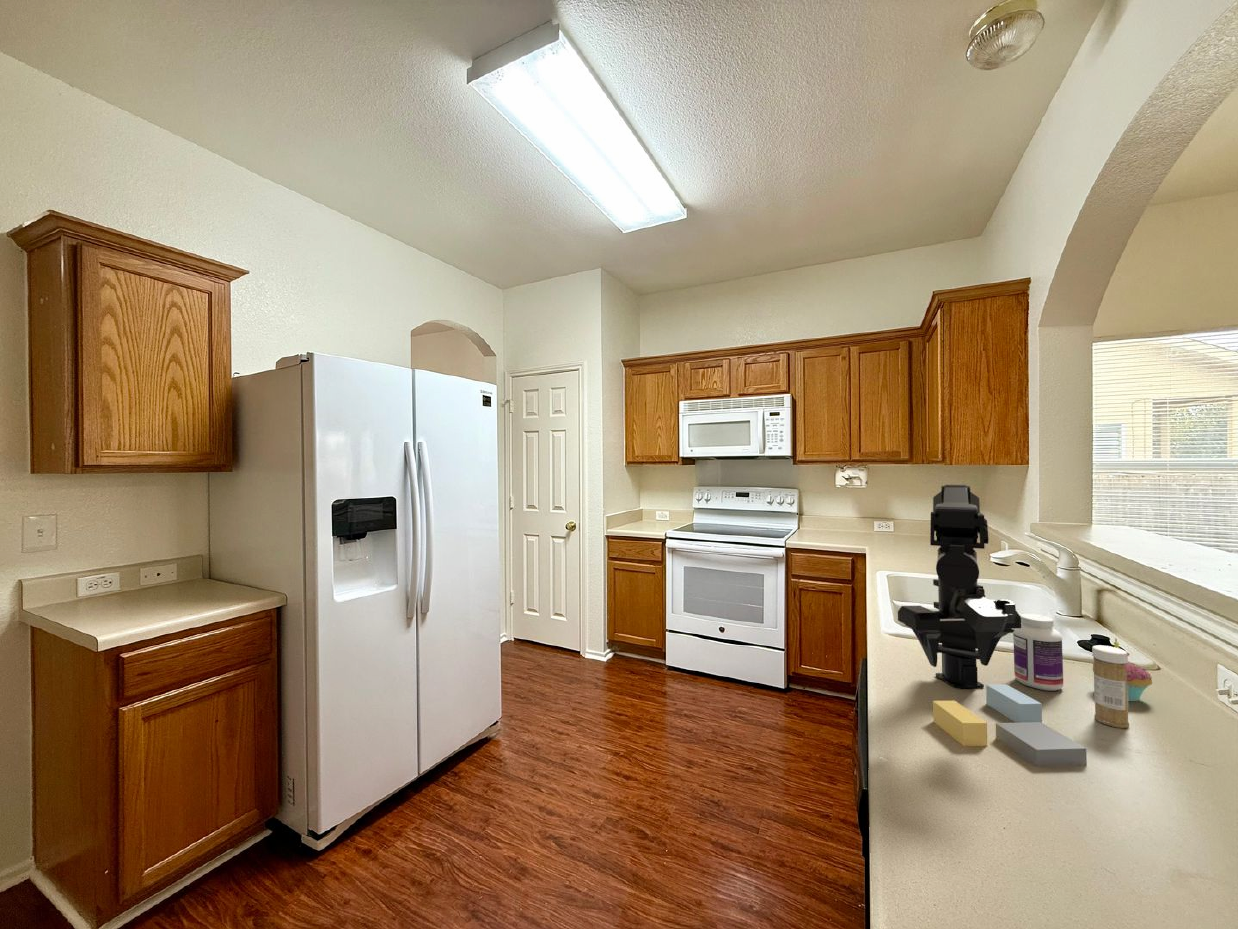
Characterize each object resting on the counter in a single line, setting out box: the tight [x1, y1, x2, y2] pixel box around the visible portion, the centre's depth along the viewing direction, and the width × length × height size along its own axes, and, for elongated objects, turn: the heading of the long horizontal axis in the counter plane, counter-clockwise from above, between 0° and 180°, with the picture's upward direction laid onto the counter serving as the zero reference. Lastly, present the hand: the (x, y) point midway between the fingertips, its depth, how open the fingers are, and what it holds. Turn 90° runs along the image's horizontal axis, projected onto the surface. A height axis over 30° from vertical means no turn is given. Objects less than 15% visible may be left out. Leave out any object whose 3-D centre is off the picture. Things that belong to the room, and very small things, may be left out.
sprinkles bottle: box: [1091, 644, 1130, 729], centre depth 89 cm, size 5×5×14 cm
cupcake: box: [1092, 638, 1153, 702], centre depth 100 cm, size 9×8×12 cm
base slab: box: [995, 722, 1088, 768], centre depth 80 cm, size 8×8×3 cm
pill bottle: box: [1012, 613, 1064, 692], centre depth 105 cm, size 8×8×14 cm
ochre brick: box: [932, 700, 988, 747], centre depth 86 cm, size 8×4×4 cm, turn 179°
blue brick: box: [985, 684, 1043, 723], centre depth 93 cm, size 8×4×4 cm, turn 1°
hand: (958, 665), depth 86 cm, fingers open, 9 cm apart
